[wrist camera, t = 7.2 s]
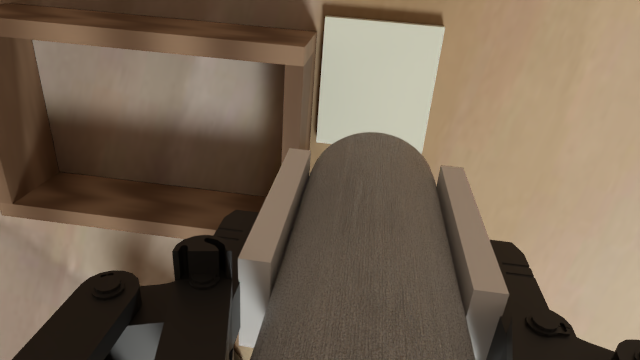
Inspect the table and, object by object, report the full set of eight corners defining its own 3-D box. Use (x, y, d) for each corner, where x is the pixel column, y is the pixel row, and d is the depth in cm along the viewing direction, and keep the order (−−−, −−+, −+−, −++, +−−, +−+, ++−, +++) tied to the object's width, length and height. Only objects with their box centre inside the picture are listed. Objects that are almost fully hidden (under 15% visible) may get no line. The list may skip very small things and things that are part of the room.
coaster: (317, 138, 31) (316, 142, 31) (326, 15, 28) (325, 16, 27) (421, 150, 31) (421, 153, 30) (443, 26, 27) (445, 27, 27)
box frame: (49, 182, 36) (1, 215, 31) (9, 3, 30) (-56, 12, 25) (305, 213, 34) (293, 253, 30) (316, 31, 28) (304, 47, 24)
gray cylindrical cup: (285, 198, 17) (178, 474, 8) (357, 104, 15) (321, 329, 6) (382, 261, 18) (381, 579, 9) (462, 179, 16) (565, 477, 7)
